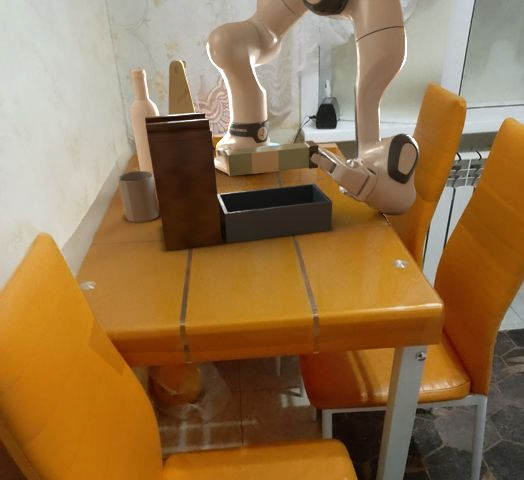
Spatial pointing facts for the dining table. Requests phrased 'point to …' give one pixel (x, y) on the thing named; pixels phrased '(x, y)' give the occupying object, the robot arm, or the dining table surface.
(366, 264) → the dining table surface
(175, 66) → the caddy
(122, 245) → the dining table surface
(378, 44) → the robot arm
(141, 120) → the bottle
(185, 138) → the stand
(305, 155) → the drawer
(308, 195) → the crate
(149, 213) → the cup
